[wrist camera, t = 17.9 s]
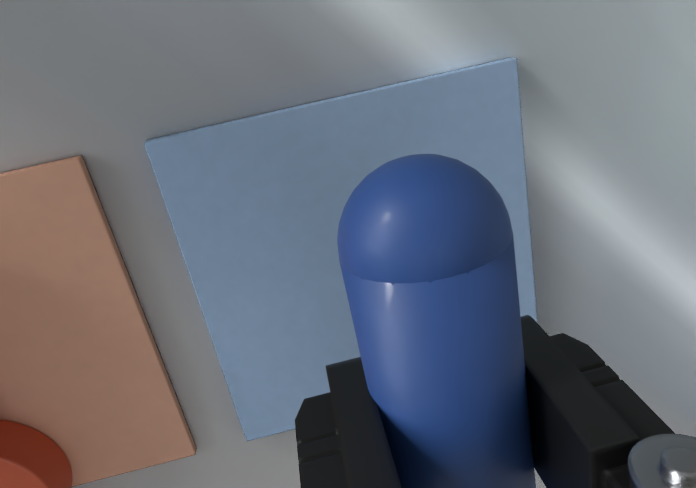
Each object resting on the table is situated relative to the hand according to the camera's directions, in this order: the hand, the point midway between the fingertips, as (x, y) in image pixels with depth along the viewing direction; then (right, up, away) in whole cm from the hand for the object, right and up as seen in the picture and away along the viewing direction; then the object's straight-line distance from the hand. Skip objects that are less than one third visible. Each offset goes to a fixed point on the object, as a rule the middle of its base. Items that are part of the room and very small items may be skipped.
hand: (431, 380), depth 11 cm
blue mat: (-1, +2, +10) cm, 10 cm away
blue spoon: (0, -2, +1) cm, 2 cm away
